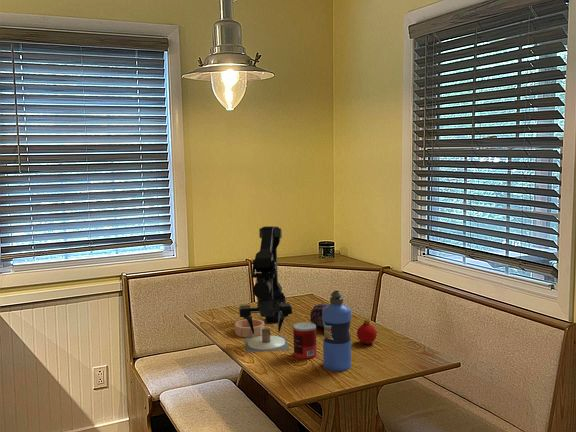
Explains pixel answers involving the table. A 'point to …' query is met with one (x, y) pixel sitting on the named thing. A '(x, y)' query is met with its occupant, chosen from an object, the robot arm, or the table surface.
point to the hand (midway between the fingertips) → (266, 332)
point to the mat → (266, 350)
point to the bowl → (249, 328)
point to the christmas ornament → (366, 332)
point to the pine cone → (317, 315)
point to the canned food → (304, 340)
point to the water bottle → (336, 334)
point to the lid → (266, 341)
